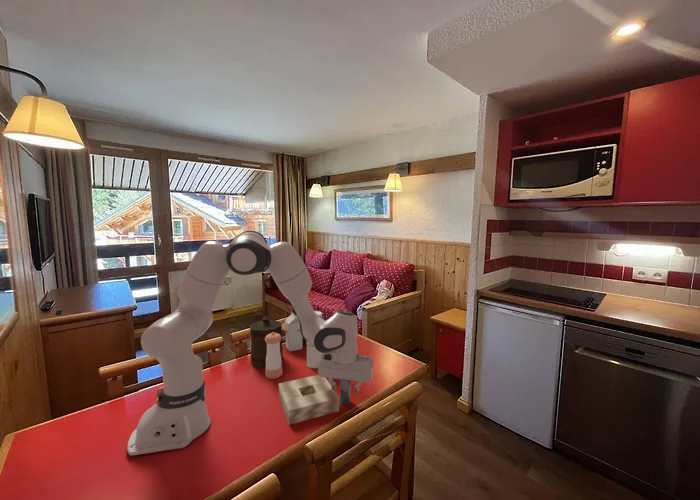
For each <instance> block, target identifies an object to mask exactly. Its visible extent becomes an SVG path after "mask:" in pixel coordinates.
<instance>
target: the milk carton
mask: <svg viewBox="0 0 700 500" xmlns="http://www.w3.org/2000/svg"><path fill="white" fill-rule="evenodd" d="M284 323H285V324H286V327H287V330H288V331H287V332H286V338H285V347H286V349H287V350H289V351H288V352H293V351H298V350H303V346H302V335H301V332H300V331H296V330H300V322H299V318H298V316H297V315H296V317H295V315H294V314H293V312H292V311H291V313H290V315H289V316H288V317H287V318H286V319H285V322H284Z"/></svg>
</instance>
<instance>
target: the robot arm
mask: <svg viewBox="0 0 700 500" xmlns="http://www.w3.org/2000/svg"><path fill="white" fill-rule="evenodd" d="M230 271H232V272H233V273H234V274H237V275H239V276H240V275H241V276H249V275H253V274H258V273H264V272H266V271H268V273H269V274H270V276H271V277H272V279H273V281H274V283H275V285H276V286H277V288H278V289H279V291H280V292H281V294H282V295H283V296H284V297H285V299H286V300H288V301H289V302H290V304H291V307H292V309H293V308H294V310H295V312H296V314H297V316H298V318H299V322H300V332H301V335H302V337H303V338H304V339H305V340H306V342H307V341H308V342H309V343H310V344H311V345H312V346H313V347H314V348H315V349H316V350H318V351H319V352H321V353H322V354H321V360H320V362H319V367H318V368H317V375H319V376H320V377H325V378H326V379H327V381H328V382H329V383H330V385H331V389H334V390H336V388H337V382H335V381H334V379H335V380H340V379H347V380H351V382H352V381H354V382H357V384H355V386H354V392H355V393H359V392H360V387H361V386H362V384H363V383H370V382H371V381H372V380H373V374H374V373H373V368H374V359H373V358H372V357H371V356H369V355H363V354H358V342H357V339H358V333H359V332H358V331H359V330H358V326H359V325H358V319H357V315H356V314H355V313H353V312H352V311H350V310H347V309H346V310H345V309H339V310H336V311H335V312H334V314H333V315H331V317H329V318H328V319H326V320H325V319H323V317H322V318H321V317H320V316H319V315H317V314H316V313H315V312H314V311H315V310H314V308H313V306H312V303H311V301H310V299H309V297H308V293H309V292H311V289H312V286H313V282H312V278H311V274H310V271H309V270H308V267H307V266H306V264H305V262H304V260H303V259H302V257H301V255H300V253H299V252H298V251H297V249H295V247H294V246H293V245H292V244H291V243H290V242H288V241H277V242H276V243H273V244H268V242H267V239H266V238H265V236H264V235H263V234H262V233H260V232H259V231H255V230H246V231H243V232H241V233H239V234H237V235H236V236H235V237H233V238H232V239H230V240H229V241H228V242H227V243H223V242H220V241H216V240H210V241H209V240H208V241H206V242H204V243H202V244H201V246H199V248H198V250H197V251H196V252H195V254H194V256H193V257H192V259H191V261H190V262H189V265H188V266H187V269H186V271H185V273H184V275H183V276H182V279H181V281H180V284H179V286H178V288H177V290H176V291H177V292H176V294H177V297H178V299H179V302H178V303H179V304H178V306H177V308H176V309H175V310H174V311H173V312H172V313H170V314H168V315H165V316H164V317H162V318H159V319H158V320H156V321H155V322H153V323H152V324H151V325H150V326H148V327H147V328H146V329H145V330H144V331H143V332H142V334H141V338H140V344H141V348H142V350H143V351H144V353H146V355H147V356H149V357H150V358H153V359H156V360H157V361H158V364H159V365H160V368H161V371H162V372H161V373H162V381H163V382H162V383H163V385H160V386H159V387H158V388H157V390H156V403H155V404H153V405H152V406H151V407H149V408H148V409H147V410H146V411H145V412H144V413H143V414H142V415H141V417H140V419H139V420H138V423H137V426H136V428H135V429H134V430H133V431H132V432H131V435H130V437H129V439H128V441H127V453H128V455H129V456H137V455H143V454H150V453H157V452H162V451H163V452H164V451H169V450H178V449H183V448H185V447H188V445H190V444H191V442H193V440H195V439H196V438H198V437H199V436H201V435H202V434H203V433H205V432H206V431H207V430H208V428H209V426H210V425H211V417H210V415H209V413H208V409H207V405H206V396H207V395H206V394H207V393H206V392H207V391H206V383H205V380H204V375H203V374H204V373H203V361H202V357H200V356H198V355H197V354H194V349H193V343H194V341H196V340H197V339H198V338H200V337H202V336H203V335H204V334H206V332H207V331H208V329H210V327H211V326H212V324H213V322H214V314H213V307H214V304H215V302H216V299H217V297H218V295H219V293H220V291H221V288H222V286H223V284H224V283H225V280H226V278H227V275H228V274H229V272H230Z"/></svg>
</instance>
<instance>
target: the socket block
mask: <svg viewBox="0 0 700 500" xmlns="http://www.w3.org/2000/svg"><path fill="white" fill-rule="evenodd" d="M278 397H279V400H280V403H281V406H282V409H283V412H284V415H285V417H286V420H287V424H288V425H289V426H290V425H293V424H297V423H302V422H304V421H308V420H311V419H315V418H319V417H323V416H326V415H330V414H333V413H337V412H340V396H339V395H338V393H337V392H336V391H335V389H331V384H330V382H329V381H328V378H326V377H320V376H319V375H318V374H315V375H313V376H307V377H306V376H305V377H302V378H298V379H294V380H289V381H284V382H280V383H278Z"/></svg>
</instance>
